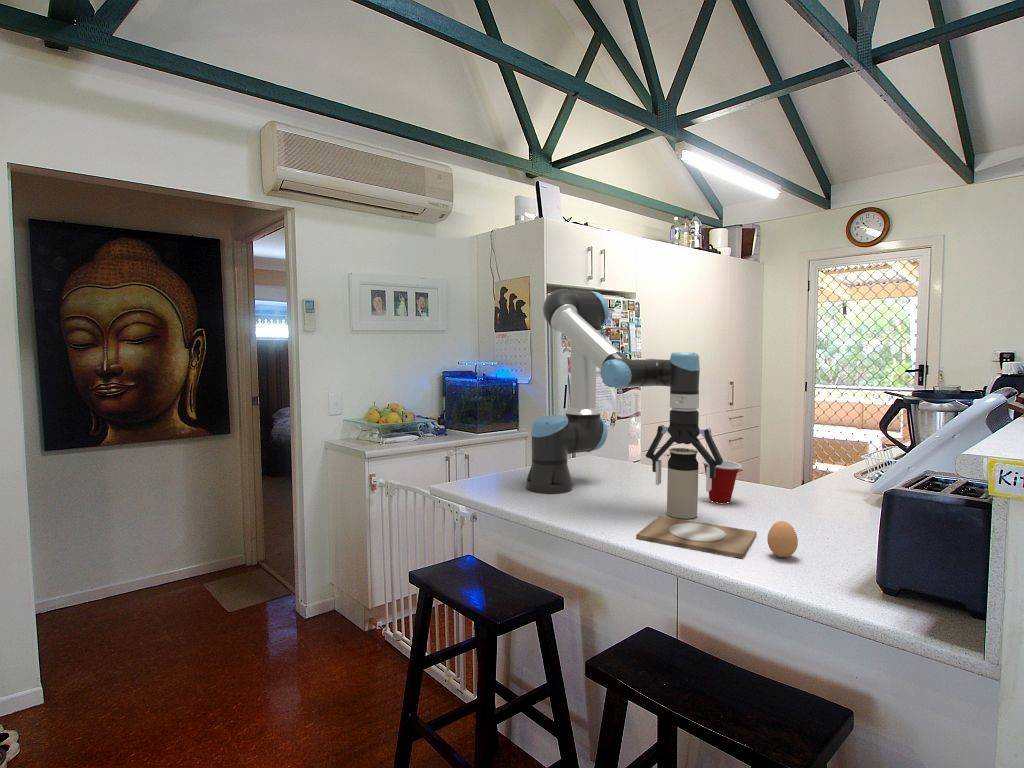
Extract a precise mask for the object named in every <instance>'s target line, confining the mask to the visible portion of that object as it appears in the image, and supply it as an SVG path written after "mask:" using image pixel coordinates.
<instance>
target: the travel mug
mask: <svg viewBox="0 0 1024 768" xmlns="http://www.w3.org/2000/svg"><path fill="white" fill-rule="evenodd" d="M668 452H669V455H670V457H669V459H668V460H667V489H666V491H667V492H666V499H667V500H666V514H667V515H668V516H669V517H670V518H677V519H678V518H679V519H683V520H693V519H694V518H698V517H697V516H698V507H699V506H698V503H699V502H698V500H699V495H698V493H699V461H698V459H697V454H698V453H699V451H698V450H697V449H694V448H689V447H688V448H687V447H674V448H668Z"/></svg>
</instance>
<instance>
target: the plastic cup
mask: <svg viewBox="0 0 1024 768" xmlns="http://www.w3.org/2000/svg"><path fill="white" fill-rule="evenodd" d="M713 459H714V458H713ZM714 460H715V459H714ZM702 463H703V467H704V471H705V473H706V467H707V466H708V465H709V464H708V463H707V462H706V460H705V459H703V460H702ZM741 468H742V465H741V464H740V463H738V462H734V461H732V460H731V461H730V460H725V459H723V463H722V464H721V465H717V466H716V476H715V478H714V479H712V483H711V490H710V491H707V492H708V500H709V501H710V500H711V501H713V502H718V503H727V502H730V503H731V501H732V497H733V492H734V489H735V485H736V478H737V475H738V474H739V470H740V469H741ZM711 501H710V502H711ZM713 502H712V503H713Z"/></svg>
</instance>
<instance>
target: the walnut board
mask: <svg viewBox="0 0 1024 768" xmlns="http://www.w3.org/2000/svg"><path fill="white" fill-rule="evenodd" d="M756 535H757V531H755V530H751V529H750V530H749V529H743V528H736V527H731V526H726V525H724V526H723V525H718V524H712V523H705V522H700V521H696V520H695V521H694V520H690V519H678V518H674V517H671V516H662V515H658V516H657V517H656V518H655V519H653V520H652V521H651V522H650V523H649V524H648V525H646V526H645V527H644V528H642V529H641V530H640V531H639V532H638V533H636V535H635V539H637V540H642V541H646V540H647V542H650V543H656V542H657V543H658V544H662V543H663V544H664V545H667V546H672V545H673V547H678V548H682V549H688V548H690V550H693V549H694V551H699V550H700V552H704V551H707V552H706V553H709V552H711V553H710V554H715V553H717V554H716V555H720V554H723V555H722V556H725V555H728V556H727V557H730V556H733V557H732V558H736V557H738V558H737V559H741V558H742V559H744V558H745V556H746V555H747V553H748V551H749V549H750V548H751V546H752V544H753V542H754V541H755V540H756V537H757V536H756ZM663 544H662V545H663ZM749 547H750V548H749ZM746 552H747V553H746Z"/></svg>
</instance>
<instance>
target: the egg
mask: <svg viewBox="0 0 1024 768" xmlns="http://www.w3.org/2000/svg"><path fill="white" fill-rule="evenodd" d="M798 541H799V539H798V535H797V533H796V530H795V529H794V527H793V526H792V524H790V523H789V522H787V521H785V520H779V521H777V522H774V523H773V524H772V525H771V527H770V528H769V530H768V533H767V544H768V547H769V550H770V551H771V552H772V553H773V554H774V555H776V556H777V557H779V558H785V559H786V558H788V557H790V556H792V555H793V554H794V553H795V552H796V551H797V548H798V545H799V544H798V543H799V542H798Z"/></svg>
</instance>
